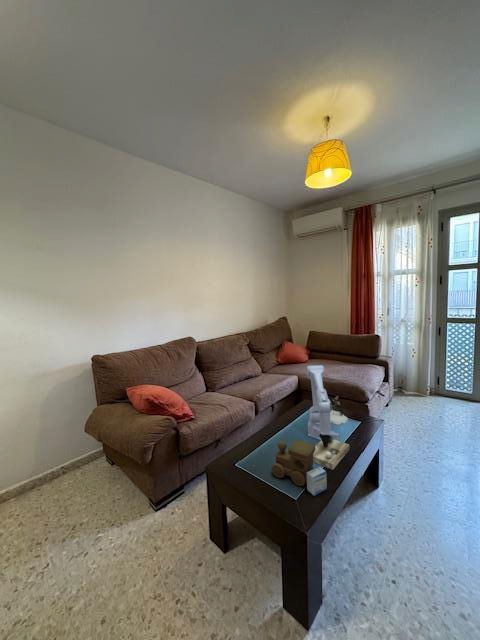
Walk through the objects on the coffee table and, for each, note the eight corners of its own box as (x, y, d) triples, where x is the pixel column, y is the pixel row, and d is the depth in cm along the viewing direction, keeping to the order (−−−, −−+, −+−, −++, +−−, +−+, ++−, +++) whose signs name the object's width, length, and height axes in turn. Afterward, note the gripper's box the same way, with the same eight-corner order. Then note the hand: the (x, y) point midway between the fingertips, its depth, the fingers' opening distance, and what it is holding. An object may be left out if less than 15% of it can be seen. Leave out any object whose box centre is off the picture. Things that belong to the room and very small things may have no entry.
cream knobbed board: (307, 459, 137) (307, 453, 136) (325, 441, 153) (325, 436, 152) (332, 470, 127) (332, 464, 127) (349, 449, 143) (349, 444, 143)
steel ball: (330, 457, 138) (328, 451, 138) (332, 454, 140) (330, 448, 140) (335, 457, 136) (334, 451, 136) (337, 455, 138) (336, 449, 138)
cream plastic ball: (324, 457, 132) (324, 452, 132) (326, 454, 135) (326, 449, 134) (330, 459, 130) (329, 454, 130) (332, 457, 133) (332, 451, 132)
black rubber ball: (324, 442, 147) (323, 435, 146) (327, 439, 150) (326, 432, 149) (330, 444, 144) (330, 437, 144) (333, 441, 147) (333, 434, 146)
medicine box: (313, 496, 111) (313, 477, 110) (306, 490, 115) (306, 471, 114) (327, 489, 115) (326, 471, 114) (319, 483, 119) (319, 465, 118)
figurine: (313, 417, 182) (314, 395, 180) (326, 409, 195) (327, 388, 192) (340, 429, 168) (342, 405, 166) (352, 419, 180) (354, 397, 178)
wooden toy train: (317, 476, 123) (316, 443, 122) (308, 491, 114) (307, 456, 113) (280, 463, 135) (278, 432, 134) (269, 475, 126) (267, 443, 124)
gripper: (309, 421, 142) (310, 445, 143) (335, 429, 132) (335, 454, 133) (315, 417, 147) (316, 439, 148) (340, 424, 137) (341, 448, 138)
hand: (325, 446), depth 141 cm, fingers closed
